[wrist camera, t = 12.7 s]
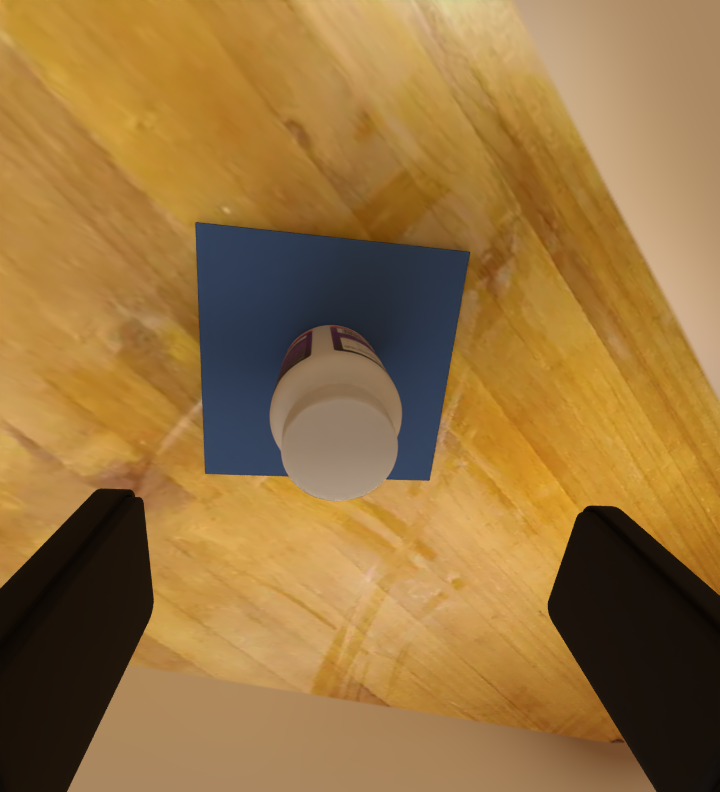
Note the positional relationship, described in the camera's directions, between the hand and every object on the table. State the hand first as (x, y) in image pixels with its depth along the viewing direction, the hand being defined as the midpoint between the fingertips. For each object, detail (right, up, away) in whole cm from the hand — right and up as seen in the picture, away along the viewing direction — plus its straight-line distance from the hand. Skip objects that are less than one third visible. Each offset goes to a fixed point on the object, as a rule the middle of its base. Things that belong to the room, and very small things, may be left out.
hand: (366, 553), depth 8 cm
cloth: (-2, +5, +14) cm, 15 cm away
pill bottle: (-2, +5, +14) cm, 15 cm away
